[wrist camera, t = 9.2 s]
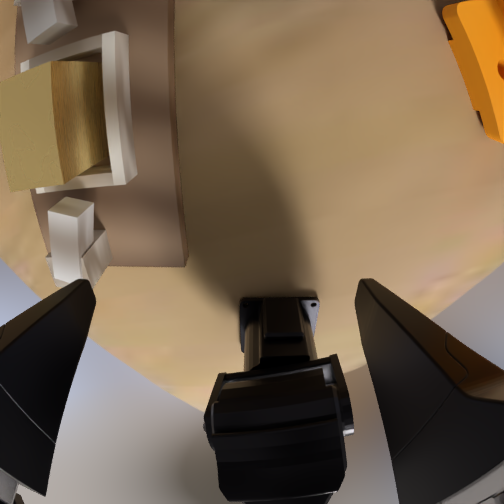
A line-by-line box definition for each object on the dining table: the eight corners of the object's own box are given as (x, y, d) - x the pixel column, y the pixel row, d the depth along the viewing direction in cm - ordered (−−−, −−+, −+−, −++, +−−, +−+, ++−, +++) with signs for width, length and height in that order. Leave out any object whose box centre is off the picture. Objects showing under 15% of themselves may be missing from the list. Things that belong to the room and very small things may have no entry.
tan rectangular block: (55, 76, 14) (-5, 84, 9) (106, 62, 14) (50, 61, 9) (64, 160, 17) (10, 192, 12) (113, 153, 17) (63, 184, 12)
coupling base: (188, 256, 23) (172, 304, 18) (60, 255, 23) (27, 294, 18) (177, -53, 11) (153, -89, 6) (30, -5, 11) (-16, -13, 6)
